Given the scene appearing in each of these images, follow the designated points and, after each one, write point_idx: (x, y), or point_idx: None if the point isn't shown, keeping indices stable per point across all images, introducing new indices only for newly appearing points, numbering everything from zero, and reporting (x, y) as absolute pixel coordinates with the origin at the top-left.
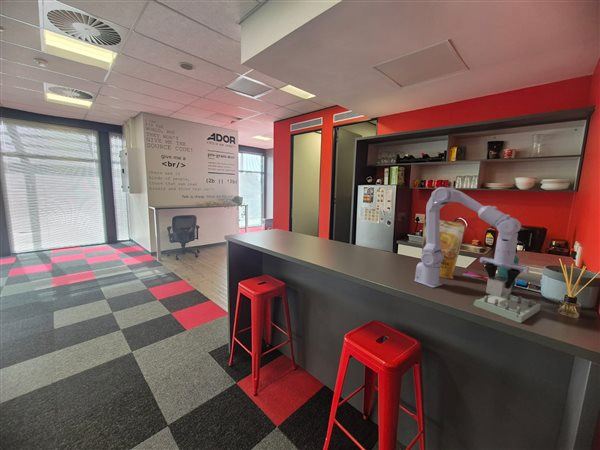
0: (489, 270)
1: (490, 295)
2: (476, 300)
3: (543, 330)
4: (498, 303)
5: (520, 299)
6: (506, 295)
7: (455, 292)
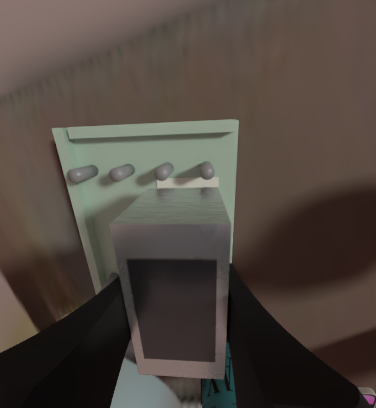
0: (272, 349)
1: None
2: (230, 119)
3: (21, 144)
4: None
5: None
6: None
7: (342, 196)
